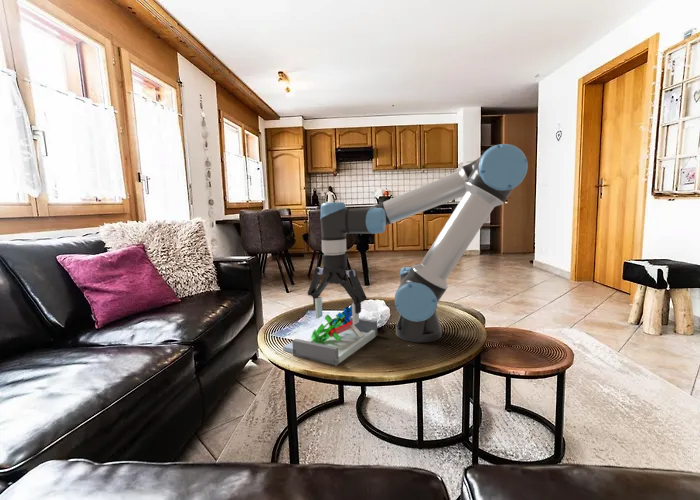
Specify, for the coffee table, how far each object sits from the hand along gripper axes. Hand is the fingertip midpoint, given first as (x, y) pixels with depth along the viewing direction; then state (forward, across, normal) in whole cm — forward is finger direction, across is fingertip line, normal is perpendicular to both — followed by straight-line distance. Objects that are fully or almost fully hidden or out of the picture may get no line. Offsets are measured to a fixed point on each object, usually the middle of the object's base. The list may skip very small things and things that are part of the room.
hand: (337, 320), depth 113 cm
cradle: (+8, 0, 0) cm, 8 cm away
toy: (+9, +2, -1) cm, 9 cm away
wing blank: (+9, +10, +8) cm, 16 cm away
